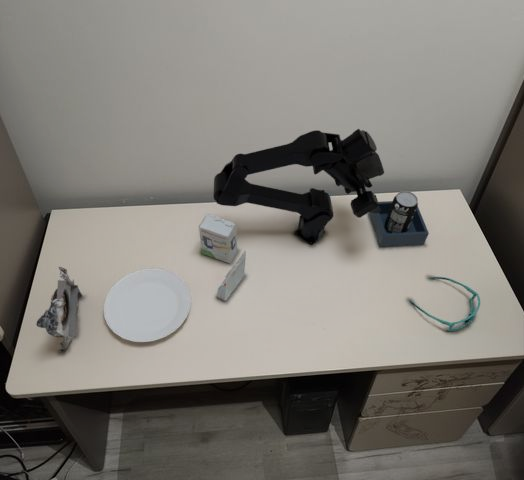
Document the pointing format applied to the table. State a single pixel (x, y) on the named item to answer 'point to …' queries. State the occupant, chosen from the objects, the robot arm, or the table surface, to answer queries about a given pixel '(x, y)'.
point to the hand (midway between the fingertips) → (375, 198)
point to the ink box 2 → (232, 278)
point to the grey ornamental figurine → (62, 311)
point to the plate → (147, 305)
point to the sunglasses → (466, 320)
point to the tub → (410, 238)
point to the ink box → (218, 238)
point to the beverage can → (401, 212)
